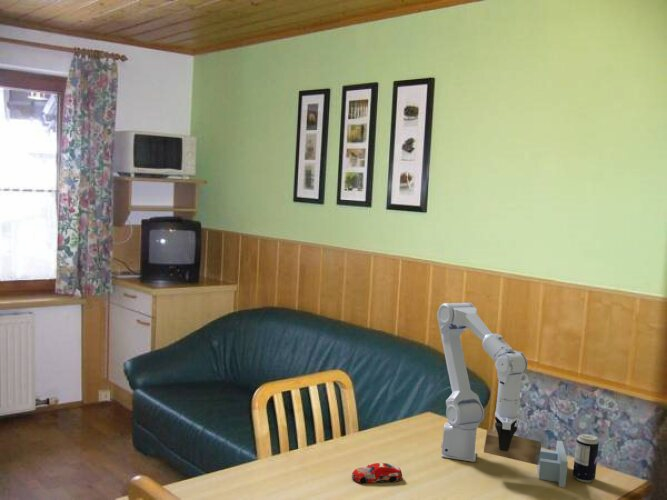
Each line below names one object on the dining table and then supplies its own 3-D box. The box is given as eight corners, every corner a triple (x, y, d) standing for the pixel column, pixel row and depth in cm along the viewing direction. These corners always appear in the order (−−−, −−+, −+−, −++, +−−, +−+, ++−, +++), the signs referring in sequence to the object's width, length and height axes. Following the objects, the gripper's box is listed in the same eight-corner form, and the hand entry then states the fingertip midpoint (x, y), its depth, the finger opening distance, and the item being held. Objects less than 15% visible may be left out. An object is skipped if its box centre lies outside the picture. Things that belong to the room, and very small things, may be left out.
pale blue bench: (539, 483, 185) (542, 458, 184) (536, 461, 201) (538, 437, 200) (565, 487, 184) (567, 461, 183) (560, 465, 199) (562, 441, 199)
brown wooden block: (483, 452, 186) (487, 434, 185) (484, 447, 190) (487, 429, 189) (537, 465, 183) (541, 446, 182) (536, 459, 187) (540, 441, 186)
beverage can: (596, 484, 187) (600, 441, 186) (574, 481, 188) (578, 438, 187) (592, 476, 192) (597, 434, 191) (571, 473, 193) (575, 431, 192)
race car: (354, 485, 177) (355, 470, 177) (349, 476, 182) (350, 461, 182) (404, 483, 180) (405, 468, 180) (397, 474, 185) (398, 460, 185)
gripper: (524, 407, 177) (519, 459, 179) (522, 392, 191) (518, 440, 193) (496, 403, 179) (491, 455, 180) (496, 388, 193) (492, 436, 194)
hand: (503, 447), depth 187 cm, fingers closed on brown wooden block, 4 cm apart
